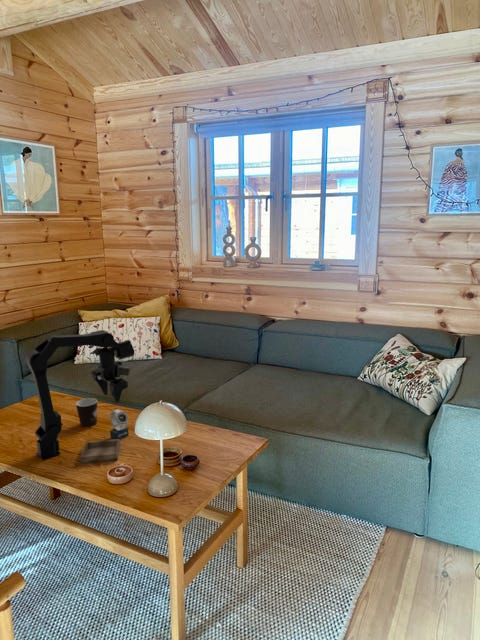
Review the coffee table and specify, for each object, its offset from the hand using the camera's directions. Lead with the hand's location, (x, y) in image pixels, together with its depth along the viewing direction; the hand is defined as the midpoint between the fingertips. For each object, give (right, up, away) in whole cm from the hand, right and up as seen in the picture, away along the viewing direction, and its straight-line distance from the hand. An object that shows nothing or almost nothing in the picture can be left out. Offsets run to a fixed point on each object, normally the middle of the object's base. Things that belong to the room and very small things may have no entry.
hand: (111, 398), depth 186 cm
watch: (+3, -15, 0) cm, 16 cm away
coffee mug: (-12, -13, +13) cm, 22 cm away
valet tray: (0, -18, -14) cm, 23 cm away
